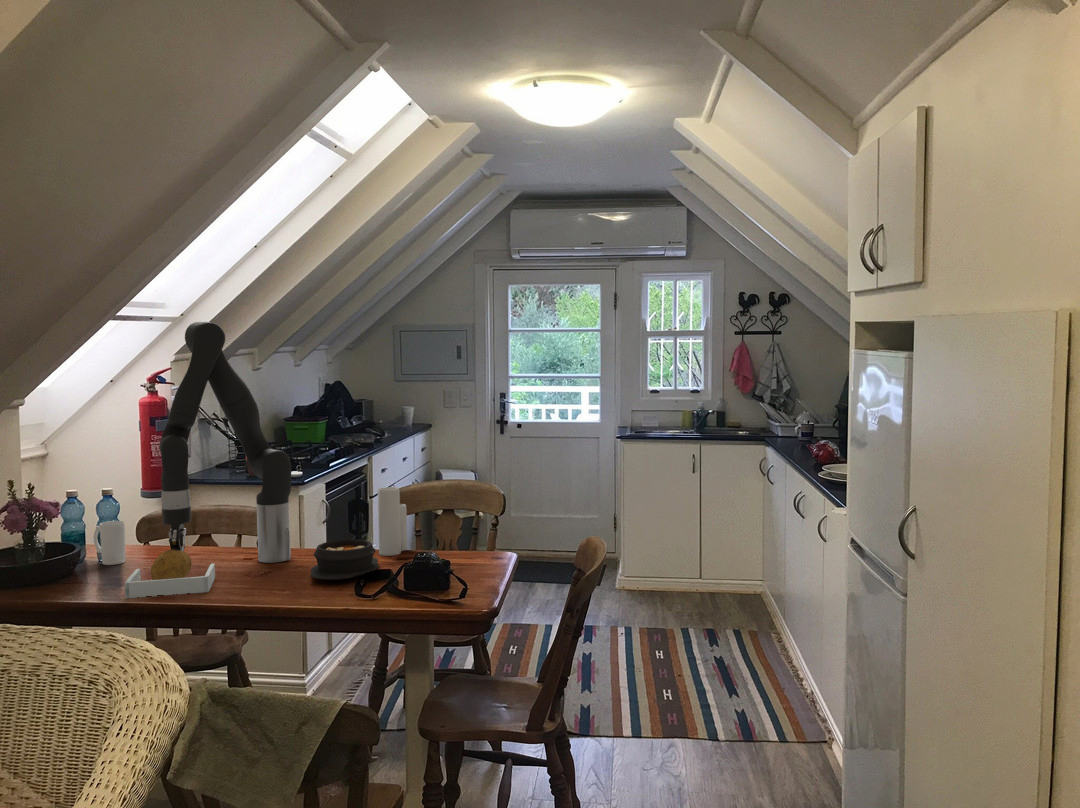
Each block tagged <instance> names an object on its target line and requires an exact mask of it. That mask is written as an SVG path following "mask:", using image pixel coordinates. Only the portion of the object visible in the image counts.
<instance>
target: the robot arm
mask: <svg viewBox="0 0 1080 808" xmlns="http://www.w3.org/2000/svg"><path fill="white" fill-rule="evenodd" d="M184 341H185V344H186V346H187V348H188V350H189V351H190V353H191V357H190V362H189V364H188V367H187V370H186V373H185V374H184V376H183V378H182V380H181V382H180V384H179V385H178V388H177V390H176V392H175V394H174V397H173V400H172V404H171V408H170V411H169V414H168V418H167V422H166V425H165V428H164V430H163V433H162V435H161V438H160V441H159V446H158V447H159V452H160V456H161V468H162V471H161V479H160V480H161V495H160V496H161V497H160V498H161V499H160V501H161V503H160V504H161V522H162V524H163V525H165V526H166V525H168V526H170V530H169V531H168V537H169V539H168V542H169V547H170V550H179V551H183V552H185V548H186V546H185V545H186V534H187V528H186V527H185V525H186V524H188V523H190V522H191V521H192V502H191V501H192V500H191V499H192V498H191V494H190V493H191V491H190V477H189V471H188V470H189V469H188V468H189V444H188V442H189V437H190V435H191V434H190V433H191V432H192V431H191V430H192V428H193V426H194V425H195V423H196V420H197V417H198V414H199V410H200V408H201V403H202V400H203V397H204V393H205V391H206V388H207V384H208V383H209V386H210V387H211V390H212V392H213V394H214V396H215V399H217V402H218V403H219V406H220V408H221V410H222V411H223V414H224V415H225V417H226V419H227V421H228V422H229V425H230V427H231V429H232V430H233V432H234V434H235V436H236V437H237V439H238V440H239V443H240V444H241V448H242V449H243V453H244V454H245V456H246V459H247V461H248V462H247V463H248V464H249V465H248V466H249V467H250V470H251V471H252V473H253V474H254V475H255V476H256V477H257V478H260V479H261V480H262V481H261V482H262V488H261V490H260V491H259V492H258V493H256V525H257V527H256V528H257V529H256V532H257V555H258V562H260V563H265V564H266V563H267V564H268V563H269V564H270V563H271V564H273V563H282V562H286V561H291V557H292V555H291V554H292V553H291V550H292V549H291V525H290V505H289V504H290V503H289V497H290V495H291V491H292V462H291V460H290V456H289V454H287V452H285V451H283V450H280V449H274V448H272V447H271V446H270V444H269V442H268V441H267V439H266V436H265V435H264V433H263V431H262V429H261V428H262V427H261V422H260V420H261V418H260V412H259V411H260V410H259V406H258V404H257V402H256V400H255V398H254V396H253V394H252V392H251V390H250V388H249V387H248V385H247V384H246V383H245V380H243V379H242V377H241V376H240V375H239V374H238V372H237V371H236V370H235V369H234V368H233V367H232V365H231V364H230V362H229V361H228V359H227V358H226V355H225V353H224V350H223V348H224V345H225V344H226V343H225V342H226V334H225V332H224V330H223V328H222V327H221V326H220V325H219V324H218V323H215V322H210V321H195V322H192V323H190V324H189V325H188V326H187V328H186V330H185V332H184ZM184 524H185V525H184Z"/></svg>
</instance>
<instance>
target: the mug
mask: <svg viewBox="0 0 1080 808" xmlns="http://www.w3.org/2000/svg"><path fill="white" fill-rule="evenodd" d="M125 526H126V524H125V521H124V520H110V521H103V522H101V523H99V525H96V526H95V529H94V532H93V544H94V547H95V549H96V552H97V554H98V553H100V554H101V563H102V565H105V566H116V565H120V564H124V563H125V562H126V527H125ZM98 536H99V537H100V543H99V539H98Z"/></svg>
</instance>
